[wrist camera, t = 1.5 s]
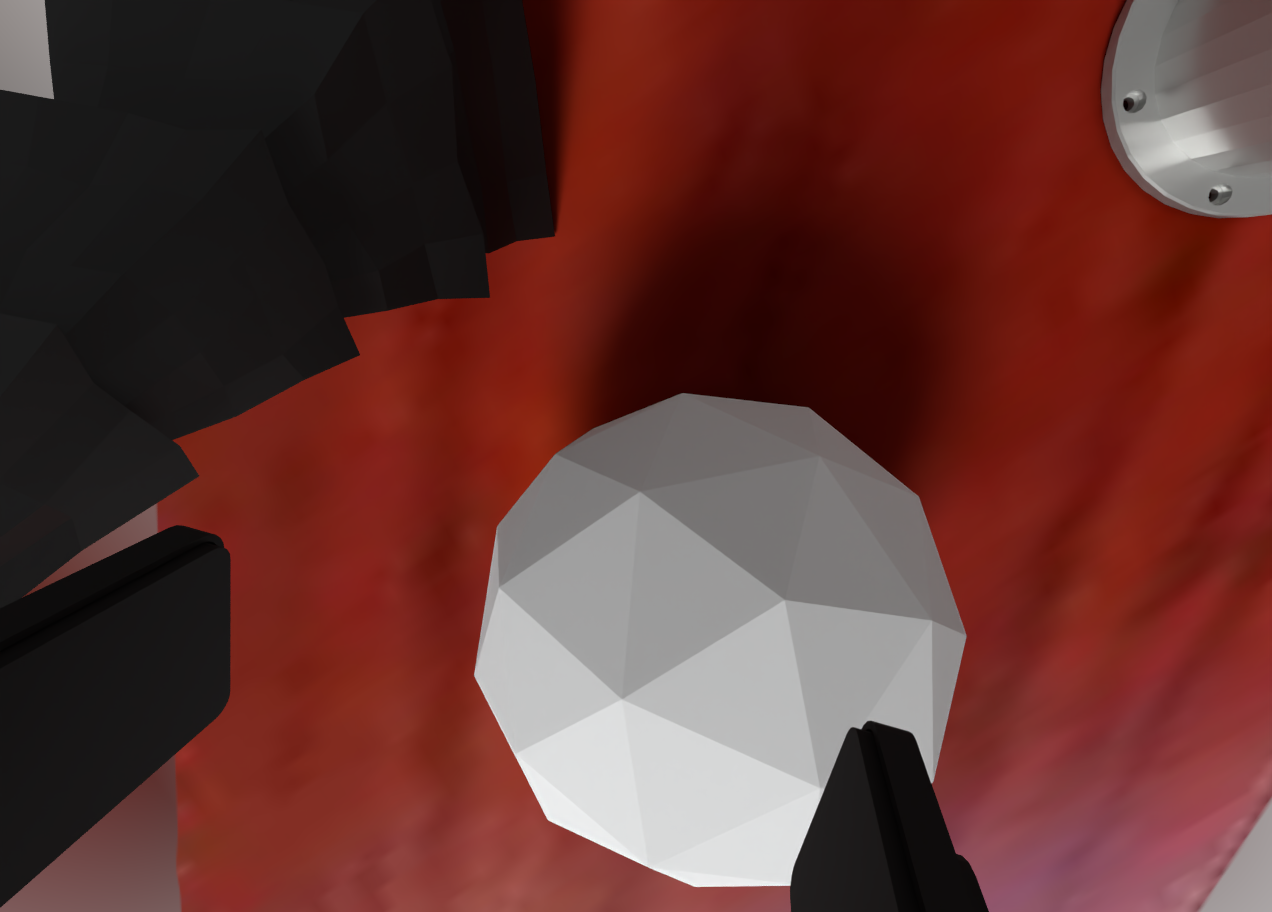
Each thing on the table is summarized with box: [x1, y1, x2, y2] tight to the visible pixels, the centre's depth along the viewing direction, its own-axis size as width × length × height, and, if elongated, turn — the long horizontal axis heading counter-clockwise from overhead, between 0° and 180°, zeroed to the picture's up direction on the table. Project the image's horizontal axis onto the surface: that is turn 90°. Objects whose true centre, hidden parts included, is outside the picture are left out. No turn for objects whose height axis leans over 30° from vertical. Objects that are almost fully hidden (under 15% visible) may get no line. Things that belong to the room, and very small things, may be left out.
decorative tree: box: [0, 0, 555, 608], centre depth 20 cm, size 15×15×35 cm
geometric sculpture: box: [474, 393, 966, 887], centre depth 28 cm, size 19×20×20 cm
